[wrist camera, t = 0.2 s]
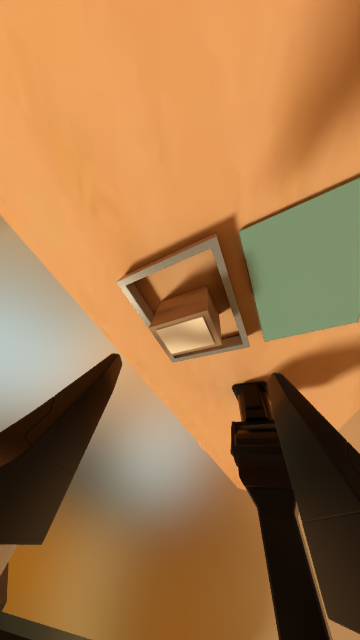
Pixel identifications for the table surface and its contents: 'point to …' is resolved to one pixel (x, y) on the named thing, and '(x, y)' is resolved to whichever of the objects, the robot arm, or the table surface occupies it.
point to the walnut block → (187, 322)
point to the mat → (307, 264)
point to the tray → (171, 259)
